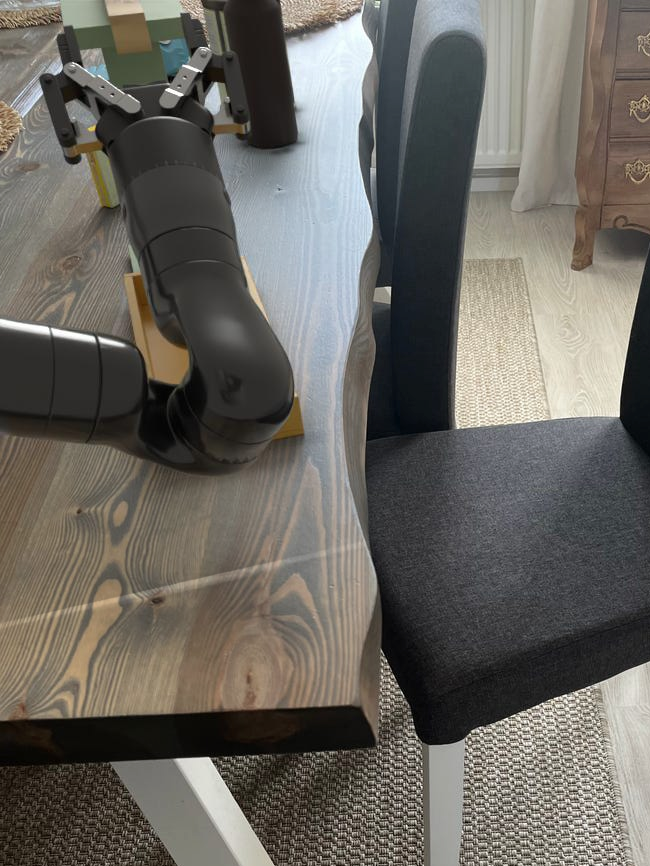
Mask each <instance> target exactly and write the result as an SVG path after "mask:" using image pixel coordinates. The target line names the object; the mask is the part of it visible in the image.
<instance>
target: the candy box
mask: <svg viewBox="0 0 650 866" xmlns="http://www.w3.org/2000/svg"><path fill="white" fill-rule="evenodd" d="M95 126H96V124H94V125H92V126H90V127H88V128H86V129H87V130H90V131H95ZM85 156H86V160H87V162H88V165H89V168H90V172H91V175H92V178H93V181H94V185H95V188H96V191H97V195H98V198H99V201H100V204H101V206H103V207H107V208H110V209H113V208H115V207H117V206H119V205H120V202H119V198H118V194H117V190H116V186H115V182H114V178H113V174H112V169H111V165H110V161H109V158H108V157H107V156H106V155H105V154H104V153H103V152H102V151H101V150H98V151H93V152H88V153H85Z"/></svg>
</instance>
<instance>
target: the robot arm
mask: <svg viewBox="0 0 650 866" xmlns="http://www.w3.org/2000/svg"><path fill="white" fill-rule="evenodd" d="M180 16H181V22H182V28H183V33H184V37H185V41H186V45H187V48H188V52H189V56H190V61H189V63H188V64H187V66H186V65H183V66H182V67H181V69H180V70H179V72H178V73H177V75H176V76H174V78H173V81H172V82H171V83H169V82H168V83H166V80H158V81H153V82H150V83H147V84H125V85H122V86H123V89H120V90H119V89H117V88H116V87H114V86H113V85H112V84H110V82H107V81H106V80H105V79H103V78H102V77H101V76H99V75H97V76H95V77H94V76H93V75H92V74H90V73H89V72H87V71H86V70H85V69H84V68H85V65H84V62H83V58H82V53H81V50H80V49H79V45H78V42H77V38H76V35H75V31H74V28H73V25H63V24H62V27H63V33H58V34H57V36H56V39H55V40H56V44H57V48H58V52H59V57H60V61H61V66H62V68H61V70H60V72H58V73H57V74H53V73H52V72H44V73H42V74H40V76H39V78H38V82H39V84H40V88H41V92H42V94H43V97H44V101H45V104H46V107H47V110H48V114H49V117H50V120H51V123H52V126H53V129H54V132H55V135H56V138H57V140H58V145H59V147H60V150H61V153H62V157H63V158H64V161H65V162H66V163H67V164H68V165H71V166H75V165H78V164H80V163H81V161H82V160H83V157H82V156H83V155H82V154H86V153H88V152H93V151H98V150H101V151H102V152H103V153H104V154H105V155H106V156H107V157H108V158H109V161H110V165H111V169H112V174H113V178H114V182H115V186H116V190H117V194H118V198H119V202H120V204H119V205H120V215H121V219H122V222H123V224H124V226H125V231H126V234H127V238H128V241H129V245H131V247H132V249H133V252H134V254H135V257H136V259H137V261H138V264H139V267H140V272H141V276H142V280H143V284H144V288H145V292H146V296H147V300H148V304H149V307H150V311H151V314H152V317H153V319H154V322H155V325H156V327H157V329H158V330H159V332H160V333H161V335H162V336H163V337H164V338H165V339H166V340H167V341H168V342H169V343H171V344H172V345H174V346H176V347H178V348H180V349H183V350H187V351H188V356H189V367H188V369H187V371H186V373H185V375H184V376H183V378H182V380H181V382H180V383H179V384H171V383H166V382H162V381H159V380H157V379H154V378H151V377H149V376H148V370H147V365H146V362H145V359H144V356H143V354H142V353H141V351H140V349H139V348H138V347H137V346H136V343H134V342H132V341H131V340H129V339H127V338H124V337H122V336H119V335H115V334H112V333H108V332H107V333H106V332H101V331H96V330H89V329H86V328H79V327H75V326H68V325H63V324H57V323H52V322H45V321H40V320H34V319H28V318H22V317H16V316H15V317H14V316H10V315H5V314H1V313H0V434H2V435H6V436H11V437H12V436H13V437H16V438H24V439H33V440H43V441H51V442H59V443H60V442H61V443H69V444H78V445H87V446H99V447H100V446H102V447H108V448H111V449H114V450H116V451H118V452H121V453H123V454H126V455H128V456H130V457H133V458H134V459H135V458H136V459H138V460H141V461H145V462H148V463H151V464H153V465H157V466H159V467H163V468H164V469H165V468H166V469H169V470H171V471H173V472H174V471H175V472H178V473H180V474H183V475H184V474H185V475H189V476H193V477H199V478H222V477H229V476H234V475H237V474H240V473H242V472H244V471H246V470H247V469H248V468H250V467H251V466H253V464H254V463H255V462H256V461H257V460H258V459H259V457H260V456H261V455H262V454H263V452H264V451H265V449H266V448H267V447H268V446H269V444H270V443H271V442H272V441H273V440H272V439H273V437H274V436H275V435H276V433H277V432H278V431H279V430H280V429H281V427H282V426H283V425H284V423H285V422H286V420H287V419H288V417H289V415H290V413H291V411H292V408H293V404H294V397H295V389H296V387H295V386H296V385H295V377H294V371H293V367H292V364H291V361H290V358H289V357H288V354H287V351H286V350H285V348H284V347H283V345H282V343H281V341H280V339H279V338H278V337H277V335H276V333H275V331H274V330H273V328H271V327H272V325H271V323H270V324H269V323H268V321H267V319H266V318H265V316H264V314H263V313H262V311H261V310H260V308H259V307H258V305H257V304H256V302H255V301H254V299H253V298H252V296H251V294H250V290H249V285H248V281H247V278H246V274H245V271H244V267H243V263H242V260H241V256H240V255H241V252H240V248H239V243H238V235H237V226H236V221H235V217H234V213H233V210H232V201H231V197H230V195H229V193H228V190H227V187H226V185H225V181H224V177H223V173H222V169H221V166H220V163H219V159H218V155H217V151H216V148H215V145H214V140H215V138H216V135H225V134H227V135H228V134H234V135H235V138H236V139H237V140H239V141H243V142H247V140H249V139H250V138H251V126H250V116H249V108H248V103H247V98H246V94H245V89H244V84H243V80H242V75H241V70H240V65H239V61H238V56H237V54H236V53H234V52H232V51H226V52H224V53H223V54H222V55H217V54H214V53H212V52H211V48H210V46H209V44H208V43H209V42H208V40H207V37H206V34H205V33H206V32H205V29H204V26H203V23H202V21H201V20H200V19H199V18H197V17H196V18H192V16H191V12H190V11H189V10H187V11H185V12H180ZM64 32H65V33H64ZM217 82H218V83H225V88H226V93H227V97H228V98H224V102H223V103H222V104H221V103H220V105H219V111H218V112H217V113H216V114H213V113H212V112H211V110H209V109H208V108H207V107H205V104H206V98H207V97H208V95H209V94H210V91H211V90H212V88H213V87H214V85H215V84H216V83H217ZM73 101H75V102H76V103H77V104H78V105H80V106H81V107H83V108H84V109H86V110H87V111H88V112H90V113H91V115H92V116H93V118H94V120H96V121H97V122H96V124H95V125H96V126H95V125H94V126H95V131H90V130H87V129H88V128H86V127H85V125H84V123H82V122H81V121H79V120H77V118H76V117H73V116H72V117H70V116H69V112H68V110H67V107H66V104H68V103H70V102H73ZM270 325H271V326H270Z"/></svg>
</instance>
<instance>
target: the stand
mask: <svg viewBox="0 0 650 866" xmlns="http://www.w3.org/2000/svg"><path fill="white" fill-rule="evenodd" d="M58 1H59V7H60V14H61V21H62V26H63V25H73V28H74V31H75V35H76V38H77V42H78V45H79V49H80V51H87V50H96V49H100V50H101V53H102V58H103V61H104V64H105V65H106V68H105V69H107V73H108V77H109V81H110V82H109V83H110V84H112V85H113V86H114V87H116V88H117V89H119V90H120V89H123V86H122V85H125V84H147V83H150V82H153V81H158V80H166V83H169V80H168V76H167V74H166V70H165V65H164V61H163V56H162V52H161V47H160V43H159V41H166V40H175V39H183V38H185V37H184V33H183V28H182V22H181V16H180V12H186V11H185V9H184V7H183V6H182V3H181V1H180V0H139V1H140V3H141V6H142V9H143V11H144V15H145V19H146V23H147V28H148V32H149V37H150V41H151V46H152V51H146V52H137V53H129V54H120V55H119V54H118V52H117V49H116V45H115V41H114V38H113V34H112V30H111V27H110V23H109V19H108V15H107V12H106V8H105V4H104V1H103V0H58ZM63 33H65V32H64V31H63ZM127 249H128V253H129V258H130V259H129V260H130V263H131V269H132V273H135V272H140V267H139V264H138V261H137V259H136V257H135V254H134V252H133V249H132V247H131V244H128V245H127Z"/></svg>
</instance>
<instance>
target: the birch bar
mask: <svg viewBox="0 0 650 866" xmlns="http://www.w3.org/2000/svg"><path fill="white" fill-rule="evenodd" d="M103 1H104V4H105V8H106V12H107V15H108V19H109V23H110V27H111V30H112V34H113V38H114V41H115V45H116V49H117V52H118V54H119V55H120V54H129V53H137V52H146V51H152V46H151V41H150V37H149V32H148V28H147V23H146V19H145V15H144V11H143V9H142V6H141V3H140V1H139V0H103Z"/></svg>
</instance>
